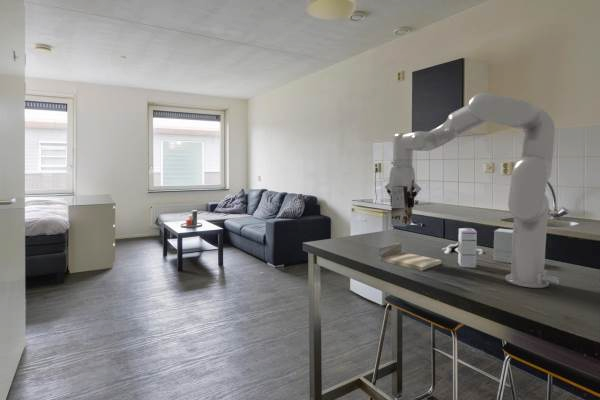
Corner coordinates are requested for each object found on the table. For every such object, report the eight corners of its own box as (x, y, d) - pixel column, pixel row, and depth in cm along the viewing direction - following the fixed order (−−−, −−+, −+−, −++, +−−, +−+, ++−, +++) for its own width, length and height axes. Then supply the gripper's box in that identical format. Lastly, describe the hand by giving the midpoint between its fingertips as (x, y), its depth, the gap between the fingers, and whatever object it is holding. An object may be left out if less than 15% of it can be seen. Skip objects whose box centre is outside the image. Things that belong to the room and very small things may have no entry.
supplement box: (517, 260, 154) (519, 230, 152) (512, 263, 148) (514, 232, 147) (497, 257, 159) (499, 227, 157) (492, 260, 153) (493, 230, 152)
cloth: (455, 245, 183) (456, 233, 183) (492, 253, 168) (493, 239, 167) (426, 251, 171) (426, 238, 170) (463, 260, 156) (463, 246, 155)
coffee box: (406, 226, 148) (406, 186, 147) (390, 225, 152) (391, 186, 150) (412, 223, 156) (413, 185, 154) (397, 222, 160) (398, 184, 158)
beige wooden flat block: (441, 263, 149) (441, 250, 149) (421, 270, 140) (422, 256, 140) (397, 254, 165) (397, 242, 164) (377, 260, 156) (378, 247, 155)
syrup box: (476, 267, 143) (477, 230, 142) (460, 267, 144) (461, 230, 143) (472, 263, 149) (474, 228, 147) (457, 263, 150) (458, 227, 148)
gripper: (379, 163, 156) (379, 205, 157) (416, 163, 142) (415, 209, 144) (390, 163, 160) (389, 204, 162) (427, 163, 147) (425, 207, 149)
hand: (401, 206), depth 153 cm, fingers closed on coffee box, 7 cm apart
